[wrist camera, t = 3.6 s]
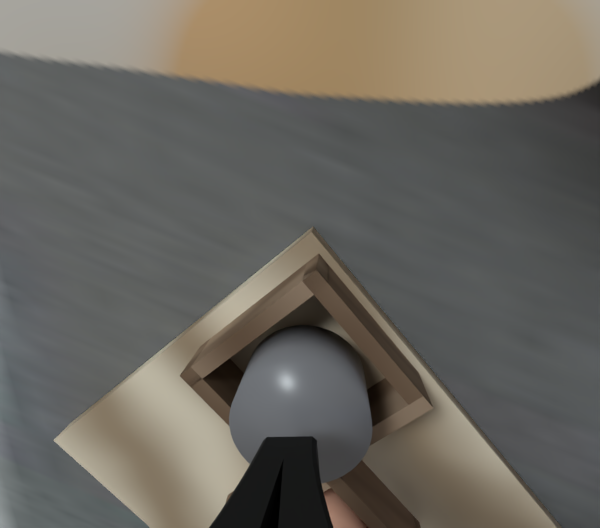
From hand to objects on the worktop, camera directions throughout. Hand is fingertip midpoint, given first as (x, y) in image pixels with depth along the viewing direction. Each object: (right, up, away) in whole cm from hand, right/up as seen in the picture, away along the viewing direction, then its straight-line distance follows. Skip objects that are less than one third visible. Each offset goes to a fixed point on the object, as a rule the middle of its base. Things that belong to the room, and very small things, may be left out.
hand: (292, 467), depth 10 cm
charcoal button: (0, +1, +4) cm, 4 cm away
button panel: (+1, -6, +9) cm, 10 cm away
